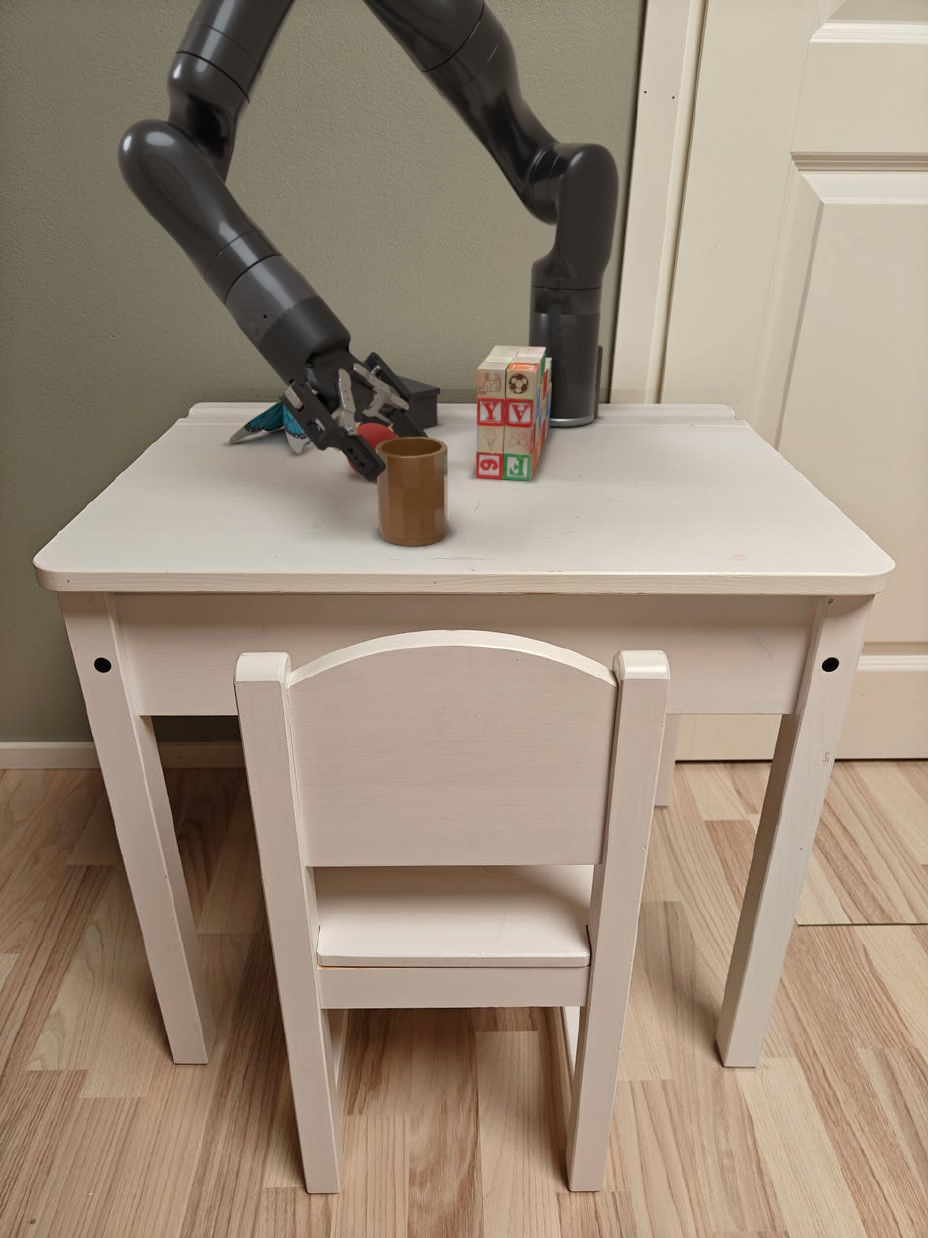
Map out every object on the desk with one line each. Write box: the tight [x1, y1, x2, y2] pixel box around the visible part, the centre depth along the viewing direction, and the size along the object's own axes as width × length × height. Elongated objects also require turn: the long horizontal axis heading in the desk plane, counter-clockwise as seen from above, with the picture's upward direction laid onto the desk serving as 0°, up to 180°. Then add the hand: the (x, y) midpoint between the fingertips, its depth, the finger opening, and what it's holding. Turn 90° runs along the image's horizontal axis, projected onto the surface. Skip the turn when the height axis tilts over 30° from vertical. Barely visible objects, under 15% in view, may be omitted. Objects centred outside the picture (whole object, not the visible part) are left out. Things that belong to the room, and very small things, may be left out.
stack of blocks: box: [475, 345, 552, 482], centre depth 102 cm, size 21×6×12 cm, turn 169°
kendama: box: [346, 422, 399, 480], centre depth 101 cm, size 8×6×18 cm
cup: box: [376, 437, 449, 547], centre depth 80 cm, size 6×6×8 cm
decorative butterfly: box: [228, 395, 324, 455], centre depth 109 cm, size 10×6×10 cm
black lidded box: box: [354, 374, 441, 429], centre depth 115 cm, size 13×13×5 cm
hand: (402, 461), depth 79 cm, fingers open, 8 cm apart
